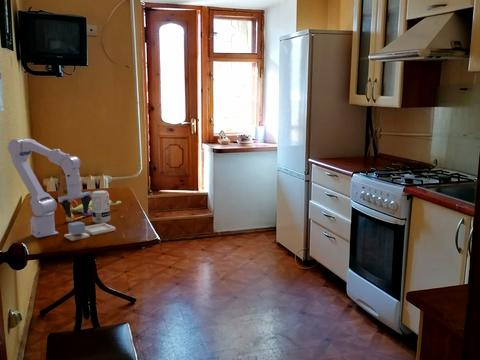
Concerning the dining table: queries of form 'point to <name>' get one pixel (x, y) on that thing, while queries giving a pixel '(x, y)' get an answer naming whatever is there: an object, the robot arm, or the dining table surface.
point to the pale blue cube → (76, 228)
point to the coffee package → (62, 183)
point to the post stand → (76, 236)
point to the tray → (99, 228)
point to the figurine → (71, 212)
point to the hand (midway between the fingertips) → (77, 215)
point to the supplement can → (100, 206)
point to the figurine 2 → (80, 208)
